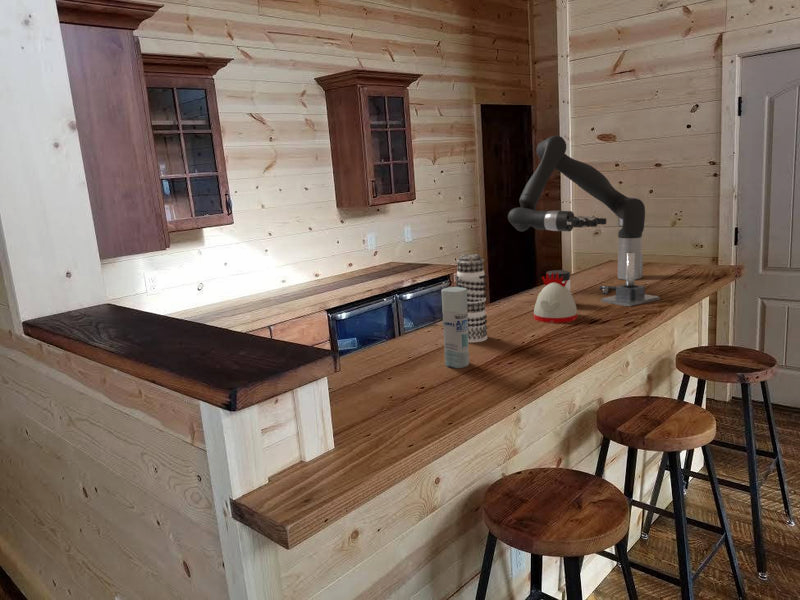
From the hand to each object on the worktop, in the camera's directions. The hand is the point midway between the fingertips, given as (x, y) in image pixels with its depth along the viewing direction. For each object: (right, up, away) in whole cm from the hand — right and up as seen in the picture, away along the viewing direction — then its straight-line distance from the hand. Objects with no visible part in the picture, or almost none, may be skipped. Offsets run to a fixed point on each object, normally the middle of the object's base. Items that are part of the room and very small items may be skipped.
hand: (601, 222), depth 224 cm
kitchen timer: (-21, -34, -19) cm, 44 cm away
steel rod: (+10, -27, -2) cm, 29 cm away
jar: (-16, -30, -2) cm, 34 cm away
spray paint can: (-57, -45, -61) cm, 95 cm away
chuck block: (+10, -28, -2) cm, 30 cm away
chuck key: (+7, -25, +15) cm, 30 cm away
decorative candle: (-50, -39, -38) cm, 74 cm away
